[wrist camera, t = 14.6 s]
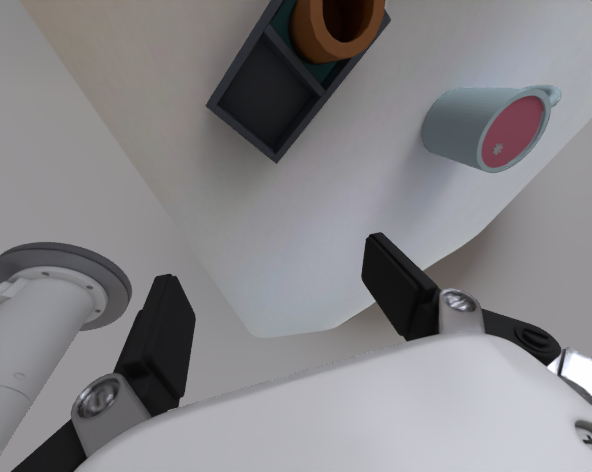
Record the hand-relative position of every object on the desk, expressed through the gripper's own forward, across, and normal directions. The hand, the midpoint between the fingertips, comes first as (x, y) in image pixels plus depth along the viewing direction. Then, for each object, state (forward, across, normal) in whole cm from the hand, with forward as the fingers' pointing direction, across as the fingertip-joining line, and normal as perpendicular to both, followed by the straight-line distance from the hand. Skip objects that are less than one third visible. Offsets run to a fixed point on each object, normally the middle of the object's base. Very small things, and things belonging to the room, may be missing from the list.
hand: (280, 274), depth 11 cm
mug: (+24, -33, -2) cm, 41 cm away
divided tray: (+25, -6, -10) cm, 27 cm away
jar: (+24, -10, -13) cm, 28 cm away
